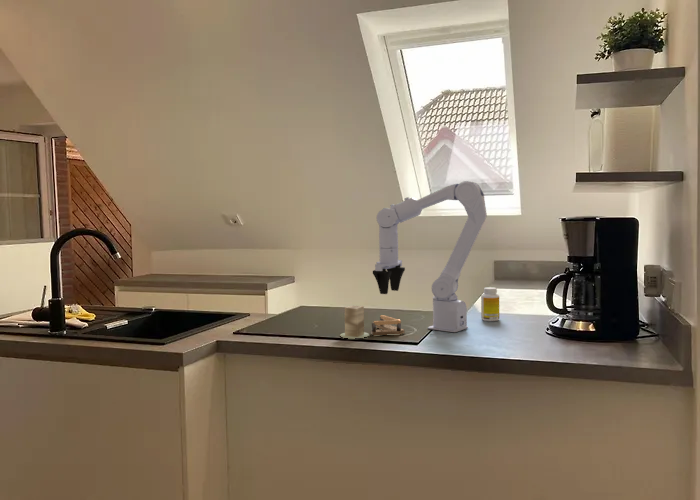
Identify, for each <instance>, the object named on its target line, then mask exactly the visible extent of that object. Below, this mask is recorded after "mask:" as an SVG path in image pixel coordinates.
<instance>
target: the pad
mask: <svg viewBox="0 0 700 500" xmlns="http://www.w3.org/2000/svg"><path fill="white" fill-rule="evenodd" d="M339 336H341V337H343V338H342V339H344V338H348V339H347V340H356V339H355V338H363V339H365V338H364V337H367V336H369V337H370V333H369V332H365V331H364V334H363V335H361V336H358V337H353V336H345V332H342V333H341V334H339ZM341 337H340V338H341ZM367 338H368V337H367Z"/></svg>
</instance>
